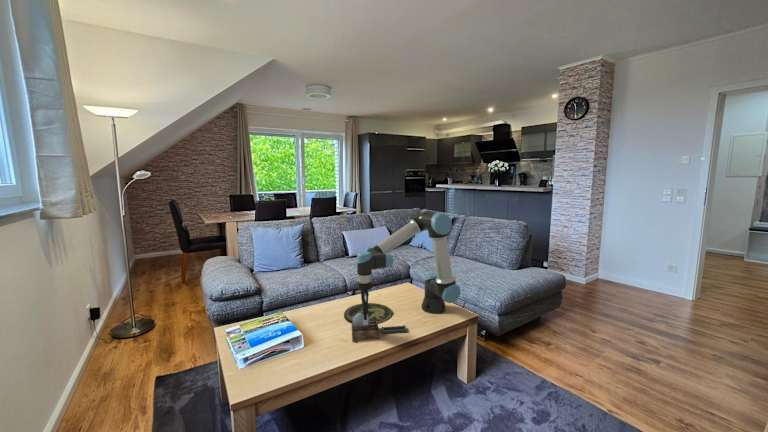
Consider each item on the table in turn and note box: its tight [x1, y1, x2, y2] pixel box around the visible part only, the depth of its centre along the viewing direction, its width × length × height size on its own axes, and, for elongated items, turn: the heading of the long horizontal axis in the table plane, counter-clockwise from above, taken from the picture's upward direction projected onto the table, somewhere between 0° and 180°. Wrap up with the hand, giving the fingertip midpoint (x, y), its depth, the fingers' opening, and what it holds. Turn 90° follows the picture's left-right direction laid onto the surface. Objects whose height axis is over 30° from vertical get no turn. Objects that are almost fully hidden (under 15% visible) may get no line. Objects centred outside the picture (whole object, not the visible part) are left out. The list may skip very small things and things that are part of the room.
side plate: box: [353, 313, 370, 328], centre depth 172 cm, size 9×2×9 cm, turn 97°
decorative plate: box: [343, 302, 394, 325], centre depth 199 cm, size 30×2×30 cm
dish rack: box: [351, 321, 380, 343], centre depth 173 cm, size 14×12×5 cm
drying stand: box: [381, 324, 408, 335], centre depth 177 cm, size 13×6×2 cm, turn 98°
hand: (365, 323), depth 173 cm, fingers closed on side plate, 2 cm apart
